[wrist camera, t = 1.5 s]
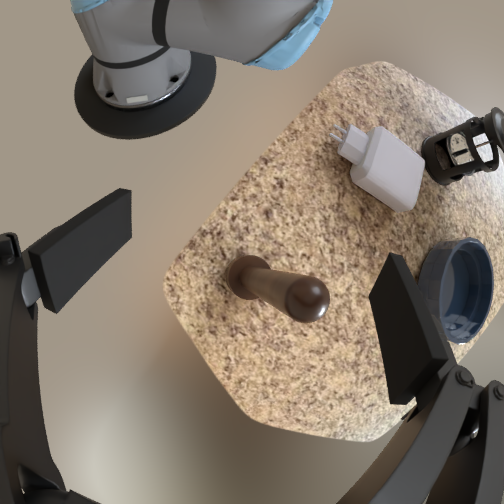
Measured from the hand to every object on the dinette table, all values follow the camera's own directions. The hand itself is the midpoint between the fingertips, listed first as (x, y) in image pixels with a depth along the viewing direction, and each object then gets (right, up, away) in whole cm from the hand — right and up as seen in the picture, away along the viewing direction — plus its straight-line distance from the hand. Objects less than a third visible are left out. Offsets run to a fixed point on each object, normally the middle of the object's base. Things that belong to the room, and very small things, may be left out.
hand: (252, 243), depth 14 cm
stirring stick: (-1, -3, +22) cm, 22 cm away
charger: (+17, +13, +25) cm, 33 cm away
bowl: (+34, -7, +28) cm, 45 cm away
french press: (+34, +17, +29) cm, 48 cm away
